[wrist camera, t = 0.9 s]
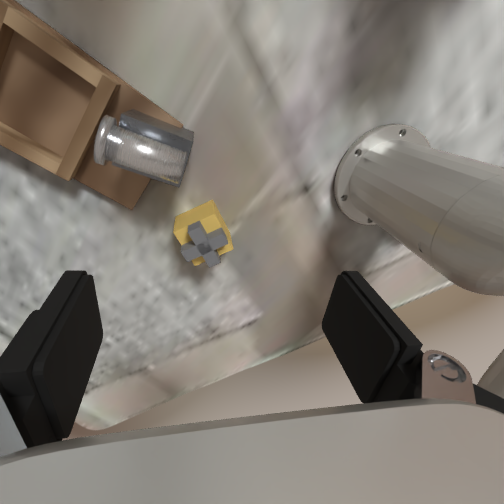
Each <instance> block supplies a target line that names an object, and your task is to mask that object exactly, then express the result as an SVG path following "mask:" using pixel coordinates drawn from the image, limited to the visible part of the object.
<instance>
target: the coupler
mask: <svg viewBox="0 0 504 504" xmlns="http://www.w3.org/2000/svg"><path fill="white" fill-rule="evenodd" d="M173 233H174V234H175V236H176V238H177V239H178V241H179V242H180V244H181V253H182V255H183V256H184V258H185V260H186V261H187V262H189V261H192V262H193V264H194V265H195V266H197V265H199V264H201V263H203V262H206V263H207V265H208V266H209V268H210V267H212V266H214V265H216V264H219V263H220V255H221V254H224V253H226V252H228V251H231V250H233V245H232V240H231V236H230V232H229V230H228V228H227V226H226V224H225V222H224V220H223V219H222V217H221V215H220V213H219V211H218V209H217V207H216V205H215V203H214V201H213V200H211V201H209V202H207V203H204V204H202V205H200V206H198V207H196V208H193V209H191V210H189V211H187V212H185V213H182V214H180V215H178V216H176V218H175V224H174V231H173Z"/></svg>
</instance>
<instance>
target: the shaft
mask: <svg viewBox="0 0 504 504" xmlns="http://www.w3.org/2000/svg"><path fill="white" fill-rule="evenodd" d="M193 137H194V132H193V131H190V130H188V129H185V128H183V127H182V128H179V127H177V126H174V125H172V124H169V123H167V122H164V121H162V120H159V119H157V118H154V117H152V116H149V115H147V114H144V113H142V112H139V111H137V110H134V109H131V110H129V111H126V112H124V113H121V117H120V122H119V127H118V126H117V120H116V118H113V117H111V116H108V115H105V116H104V117H103V119H102V120H101V122H100V125H99V128H98V131H97V134H96V139H95V144H94V161H95V163H98V164H101V165H104V166H105V165H106V164H107V163H108V161H111V162H112V165H113V166H116V167H119V168H122V169H125V170H128V171H131V172H134V173H137V174H140V175H143V176H146V177H149V178H152V179H155V180H158V181H161V182H164V183H167V184H170V185H173V186H176V187H180V184H181V181H182V177H183V174H184V171H185V167H186V164H187V161H188V157H189V154H190V151H191V147H192V144H193Z"/></svg>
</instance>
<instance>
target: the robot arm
mask: <svg viewBox="0 0 504 504" xmlns="http://www.w3.org/2000/svg"><path fill="white" fill-rule="evenodd" d="M355 151H356V153H355ZM334 191H335V198H336V201H337V204H338V206H339V207H340V209H341V211H342V212H343V213H344V214H345V215H346V216H347V217H349V218H350V219H351V220H353V221H355V222H357V223H359V224H364V225H379V226H380V227H381V228H383V229H384V230H385V231H386V232H388V233H389V234H390V235H392V236H393V237H394V238H395V239H397V240H398V241H399V242H401V243H402V244H403V245H404V246H406V247H407V248H408V249H409V250H411V251H412V252H413V253H415V254H416V255H417V256H418V257H420V258H421V259H422V260H424V261H425V262H426V263H427V264H429V265H430V266H431V267H433V268H434V269H435V270H436V271H438V272H439V273H441V274H442V275H443V276H445V277H446V278H447V279H448V280H450V281H451V282H453V283H454V284H456V285H457V286H459V287H461V288H463V289H466V290H469V291H471V292H474V293H479V294H484V295H494V296H504V168H503V167H500V166H496V165H492V164H489V163H485V162H481V161H478V160H474V159H470V158H467V157H463V156H459V155H456V154H452V153H448V152H445V151H441V150H437V149H434V148H431V147H430V143H429V142H428V140H427V139H426V137H425V136H424V135H423V134H422V133H421V132H420V131H419V130H417V129H415V128H413V127H410V126H406V125H401V124H389V125H383V126H381V127H378V128H375V129H373V130H371V131H369V132H368V133H366V134H364V135H363V136H362V137H361V138H359V139H358V140H357V141H356V142H355V143H354V144H353V145H352V146H351V147H350V148H349V149H348V151H347V152H346V154H345V155H344V157H343V158H342V161H341V163H340V165H339V167H338V170H337V173H336V177H335V185H334ZM322 329H323V332H324V333H325V335H326V337H327V339H328V341H329V343H330V345H331V346H332V348H333V350H334V352H335V354H336V356H337V358H338V360H339V361H340V363H341V365H342V367H343V369H344V371H345V373H346V375H347V376H348V378H349V380H350V382H351V384H352V386H353V387H354V390H355V391H356V393H357V395H358V397H359V399H360V400H361V402H362V403H364V404H356V405H346V406H337V407H328V408H320V409H310V410H301V411H292V412H284V413H275V414H266V415H257V416H249V417H240V418H231V419H223V420H214V421H206V422H198V423H189V424H182V425H173V426H164V427H156V428H148V429H140V430H133V431H125V432H118V433H110V434H103V435H96V436H89V437H81V438H75V439H69V440H64V441H62V438H67V437H69V435H70V433H71V430H72V427H73V424H74V421H75V419H76V416H77V413H78V410H79V407H80V404H81V401H82V398H83V395H84V392H85V389H86V386H87V384H88V381H89V378H90V375H91V372H92V369H93V366H94V363H95V360H96V357H97V354H98V351H99V349H100V346H101V343H102V339H103V329H102V323H101V318H100V312H99V307H98V301H97V296H96V290H95V285H94V279H93V276H92V275H87V272H86V271H65V272H64V274H63V275H62V277H61V278H60V280H59V281H58V283H57V284H56V286H55V287H54V289H53V290H52V292H51V293H50V295H49V296H48V298H47V299H46V301H45V302H44V304H43V305H42V307H41V308H40V310H35V311H33V312H32V313H31V314H30V315H29V316H28V318H27V319H26V321H25V322H24V324H23V325H22V326H21V328H20V329H19V331H18V332H17V334H16V335H15V337H14V338H13V339H12V341H11V342H10V344H9V345H8V347H7V348H6V350H5V351H4V352H3V354H2V355H1V357H0V504H504V349H503V351H502V352H501V353H500V354H499V355H498V357H497V358H496V359H495V361H493V363H492V364H491V365H490V366H489V368H488V369H487V371H486V372H485V373H484V375H483V376H482V378H481V379H480V381H479V382H478V384H477V385H475V384H473V383H472V378H471V375H470V373H469V371H468V370H467V369H466V367H465V366H464V365H463V364H462V363H460V362H459V361H457V360H456V359H455V358H454V357H452V356H450V355H448V354H446V353H444V352H440V351H436V350H429V351H426V352H425V353H423V352H422V351H421V350H420V349H421V347H422V345H423V344H422V343H421V342H420V341H419V340H418V339H417V338H416V336H415V335H414V334H413V333H412V332H411V331H410V330H409V329H408V328H407V326H406V325H405V324H404V323H403V322H402V321H401V320H400V318H399V317H398V316H397V315H396V314H395V313H394V312H393V311H392V309H391V308H390V307H389V306H388V305H387V304H386V303H385V302H384V300H383V299H382V298H381V297H380V296H379V295H378V294H377V292H376V291H375V290H374V289H373V288H372V287H371V286H370V285H369V283H368V282H367V281H366V280H365V279H364V278H363V277H362V276H361V274H360V273H359V272H357V271H343V272H342V273H341V275H338V276H337V279H336V282H335V285H334V288H333V291H332V294H331V297H330V300H329V303H328V306H327V309H326V312H325V315H324V318H323V321H322Z"/></svg>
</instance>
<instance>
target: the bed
mask: <svg viewBox="0 0 504 504" xmlns="http://www.w3.org/2000/svg"><path fill="white" fill-rule="evenodd" d="M131 109H134V110H137V111H139V112H142V113H144V114H147V115H149V116H152V117H154V118H157V119H159V120H162V121H164V122H167V123H169V124H172V125H174V126H177V127H179V128H182V127H183V124H181V123H180V122H179V121H177V120H176V119H175V118H173V117H172V116H171V115H169V114H168V113H167V112H165V111H164V110H163V109H161V108H160V107H158V106H157V105H156V104H154V103H153V102H152V101H150V100H149V99H148V98H146V97H145V96H144V95H142V94H141V93H140V92H138V91H137V90H135V89H134V88H133V87H131V86H130V85H129V84H127V83H126V82H125V81H123V80H122V79H121V78H119V77H118V76H117V75H115V74H114V73H112V72H111V71H110V70H108V69H107V68H106V67H104V66H103V65H102V64H100V63H99V62H98V61H96V60H95V59H94V58H92V57H91V56H89V55H88V54H87V53H85V52H84V51H83V50H81V49H80V48H79V47H77V46H76V45H75V44H73V43H72V42H71V41H69V40H68V39H66V38H65V37H64V36H62V35H61V34H60V33H58V32H57V31H56V30H54V29H53V28H52V27H50V26H49V25H48V24H46V23H45V22H43V21H42V20H41V19H39V18H38V17H37V16H35V15H34V14H33V13H31V12H30V11H29V10H27V9H26V8H25V7H23V6H22V5H20V4H19V3H18V2H16V1H15V0H0V145H2V146H4V147H5V148H7V149H9V150H11V151H13V152H15V153H17V154H18V155H20V156H22V157H24V158H26V159H28V160H30V161H31V162H33V163H35V164H37V165H39V166H41V167H43V168H45V169H46V170H48V171H50V172H52V173H54V174H56V175H58V176H59V177H61V178H63V179H65V180H67V181H70V180H71V179H72V178H74V179H76V180H77V181H79V182H81V183H83V184H85V185H87V186H88V187H90V188H92V189H94V190H96V191H98V192H99V193H101V194H103V195H105V196H107V197H109V198H110V199H112V200H114V201H116V202H118V203H120V204H121V205H123V206H125V207H127V208H129V209H131V210H132V209H133V208H134V206H135V204H136V203H137V201H138V199H139V198H140V196H141V194H142V193H143V191H144V190H145V188H146V186H147V185H148V183H149V181H150V180H151V178H149V177H146V176H143V175H140V174H137V173H134V172H131V171H128V170H125V169H122V168H119V167H116V166H113V165H112V162H111V161H108V163H107V164H106V165H105V166H104V165H101V164H98V163H95V161H94V144H95V139H96V134H97V131H98V128H99V125H100V122H101V120H102V119H103V117H104V116H105V115H108V116H111V117H113V118H116V120H117V126H118V127H119V122H120V117H121V113H124V112H126V111H129V110H131Z"/></svg>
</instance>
